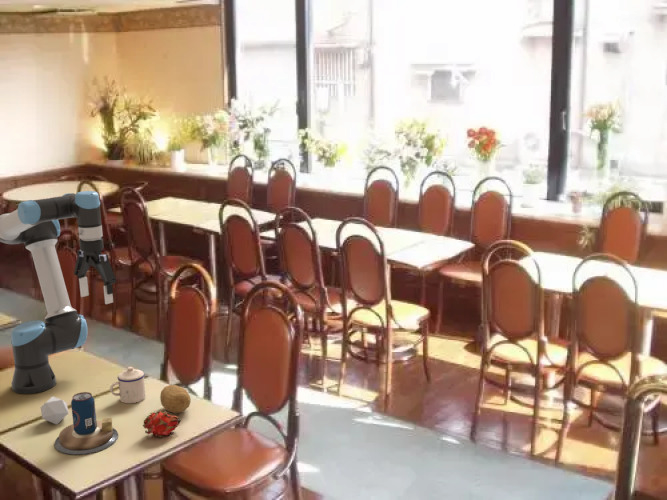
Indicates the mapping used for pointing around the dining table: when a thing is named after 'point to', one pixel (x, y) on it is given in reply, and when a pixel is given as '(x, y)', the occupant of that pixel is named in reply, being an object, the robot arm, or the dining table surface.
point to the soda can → (84, 413)
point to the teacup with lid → (130, 386)
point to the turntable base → (86, 451)
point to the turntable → (87, 436)
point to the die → (54, 410)
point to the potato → (175, 398)
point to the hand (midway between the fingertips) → (96, 299)
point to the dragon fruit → (160, 423)
